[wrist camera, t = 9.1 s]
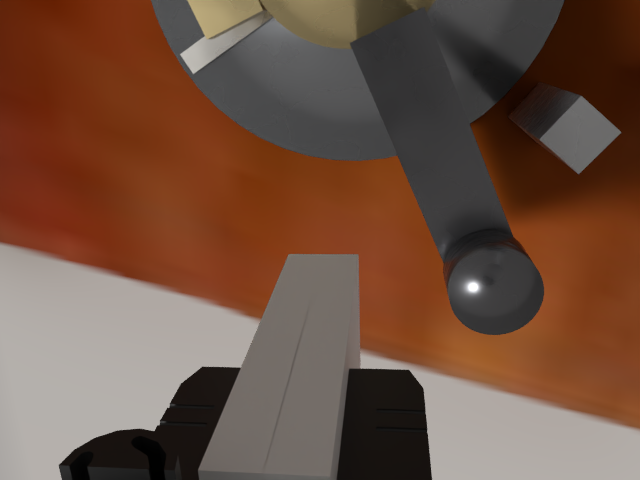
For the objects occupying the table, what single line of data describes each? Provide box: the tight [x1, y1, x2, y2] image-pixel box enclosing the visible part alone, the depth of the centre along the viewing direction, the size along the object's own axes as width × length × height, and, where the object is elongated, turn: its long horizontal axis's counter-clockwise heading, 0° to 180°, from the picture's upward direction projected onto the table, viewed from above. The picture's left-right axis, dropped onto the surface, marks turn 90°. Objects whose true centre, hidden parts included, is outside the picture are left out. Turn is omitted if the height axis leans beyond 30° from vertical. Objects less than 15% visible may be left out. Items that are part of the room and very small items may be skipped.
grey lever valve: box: [188, 0, 544, 335], centre depth 20 cm, size 18×13×8 cm
